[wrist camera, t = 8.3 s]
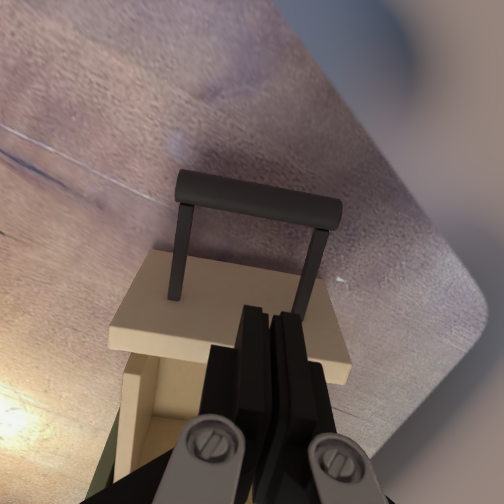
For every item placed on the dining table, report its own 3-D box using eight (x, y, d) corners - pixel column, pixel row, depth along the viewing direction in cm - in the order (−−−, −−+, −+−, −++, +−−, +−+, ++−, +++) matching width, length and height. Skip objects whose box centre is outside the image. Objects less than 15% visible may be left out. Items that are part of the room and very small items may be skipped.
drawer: (161, 141, 22) (118, 178, 14) (354, 179, 22) (402, 232, 15) (133, 408, 29) (95, 520, 22) (278, 429, 30) (286, 542, 23)
